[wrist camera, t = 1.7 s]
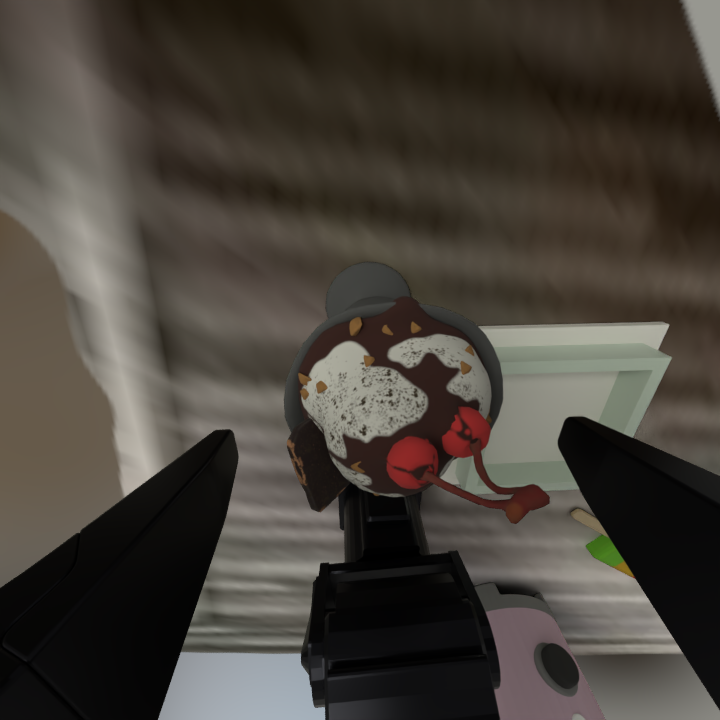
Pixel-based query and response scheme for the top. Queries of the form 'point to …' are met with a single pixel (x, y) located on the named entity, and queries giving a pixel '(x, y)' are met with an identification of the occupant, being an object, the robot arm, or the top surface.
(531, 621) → the blender
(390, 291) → the sundae
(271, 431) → the top surface
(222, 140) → the top surface
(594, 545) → the popsicle
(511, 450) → the holder cell
